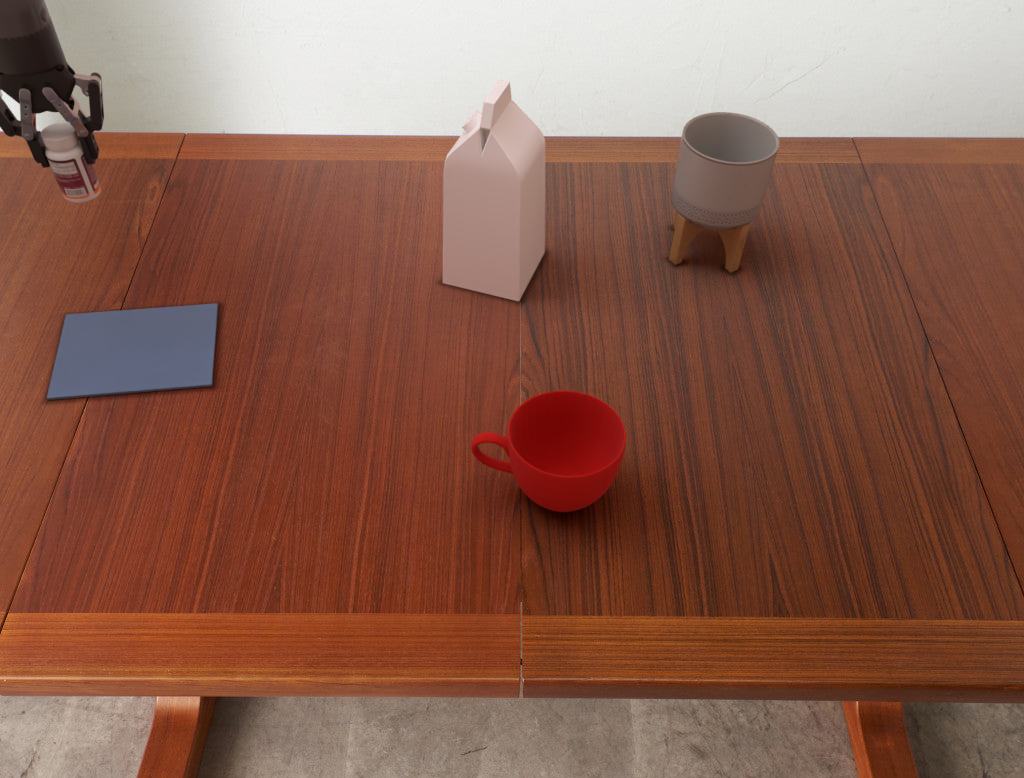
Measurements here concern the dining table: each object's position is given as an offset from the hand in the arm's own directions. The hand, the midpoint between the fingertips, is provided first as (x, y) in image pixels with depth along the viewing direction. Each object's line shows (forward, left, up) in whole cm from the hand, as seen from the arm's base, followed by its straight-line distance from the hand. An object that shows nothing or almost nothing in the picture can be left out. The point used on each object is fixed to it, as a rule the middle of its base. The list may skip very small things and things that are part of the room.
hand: (69, 161), depth 111 cm
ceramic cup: (+53, -45, -19) cm, 72 cm away
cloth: (+4, -15, -18) cm, 24 cm away
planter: (+85, -2, -19) cm, 87 cm away
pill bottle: (0, 0, -5) cm, 5 cm away
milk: (+53, -3, -19) cm, 56 cm away
